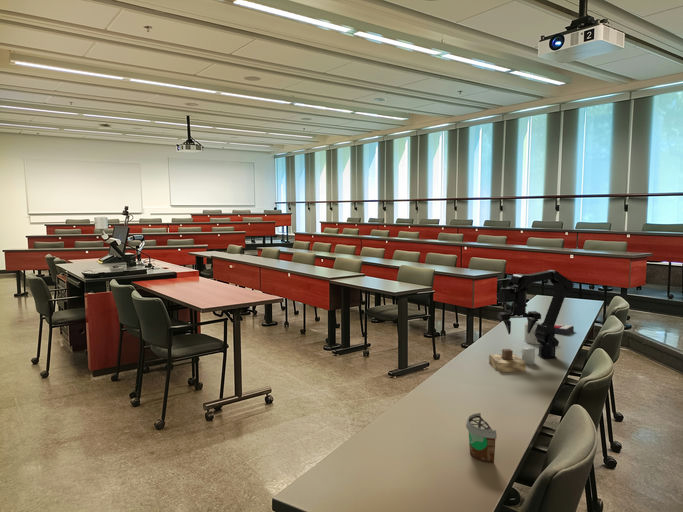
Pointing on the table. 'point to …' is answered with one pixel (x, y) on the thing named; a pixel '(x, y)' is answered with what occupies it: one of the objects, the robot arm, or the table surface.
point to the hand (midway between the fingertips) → (518, 333)
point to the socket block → (507, 363)
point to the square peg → (507, 354)
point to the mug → (531, 334)
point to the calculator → (563, 329)
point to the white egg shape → (528, 355)
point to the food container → (481, 439)
